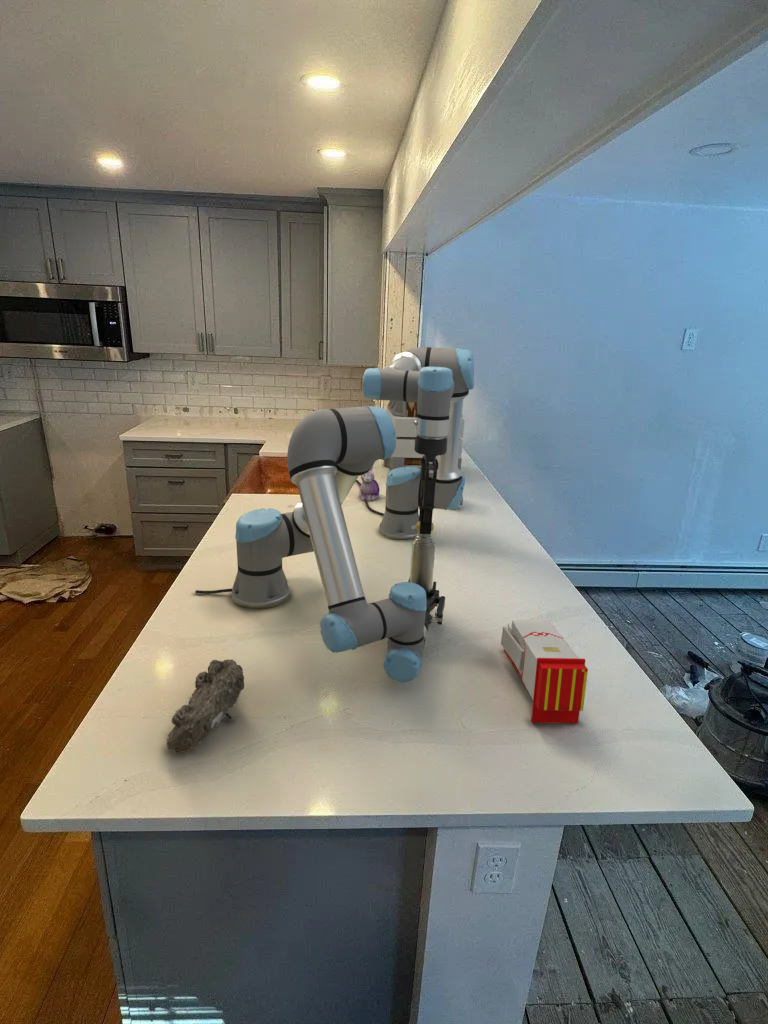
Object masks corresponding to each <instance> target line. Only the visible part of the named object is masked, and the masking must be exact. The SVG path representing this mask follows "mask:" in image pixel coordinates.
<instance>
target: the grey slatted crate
mask: <svg viewBox="0 0 768 1024" xmlns="http://www.w3.org/2000/svg"><path fill="white" fill-rule="evenodd" d="M388 401H389V400H388ZM386 411H387V412H388V414H389V415H390V417H391V419H392V421H393V424H394V428H395V436H396V446H395V450H394V453H393V454H392V456H391V457H389V458H386V459H385V460H383V466H384V467H388V468H389V472H390V471H391V470H393V469H396V468H400V467H405V466H406V467H417V466H418V467H421V459H422V458H423V456H424V454H423V455H421V454H418V453H416V452H415V450H414V447H415V437H416V436H417V434H416V426H417V425H414V424H413V423H414V421H417V403H416V402H404V401H389V402H388V404H387V405H386ZM464 429H465V419H464V418H462V419H461V432H460V444H459V456H458V468H459V469H460V470H461V471H462V461H463V460H462V453H463V442H464V441H463V440H462V439H463V438H464V431H465V430H464Z"/></svg>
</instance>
